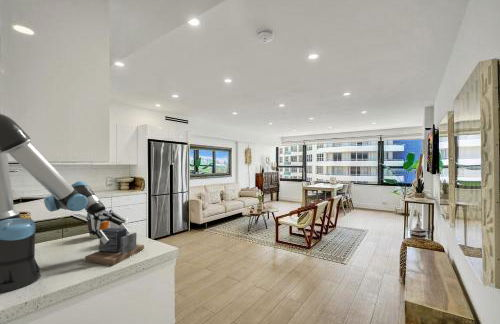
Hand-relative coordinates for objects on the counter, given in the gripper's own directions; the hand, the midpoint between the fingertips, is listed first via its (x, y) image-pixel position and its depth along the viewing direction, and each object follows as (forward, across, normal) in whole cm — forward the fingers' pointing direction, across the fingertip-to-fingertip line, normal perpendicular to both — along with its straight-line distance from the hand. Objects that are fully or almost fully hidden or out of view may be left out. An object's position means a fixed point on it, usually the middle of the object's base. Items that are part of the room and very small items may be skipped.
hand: (118, 238), depth 116 cm
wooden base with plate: (+6, 0, -7) cm, 9 cm away
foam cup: (-5, -18, -18) cm, 26 cm away
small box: (+3, 0, -6) cm, 7 cm away
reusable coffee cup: (-20, -24, -33) cm, 45 cm away
